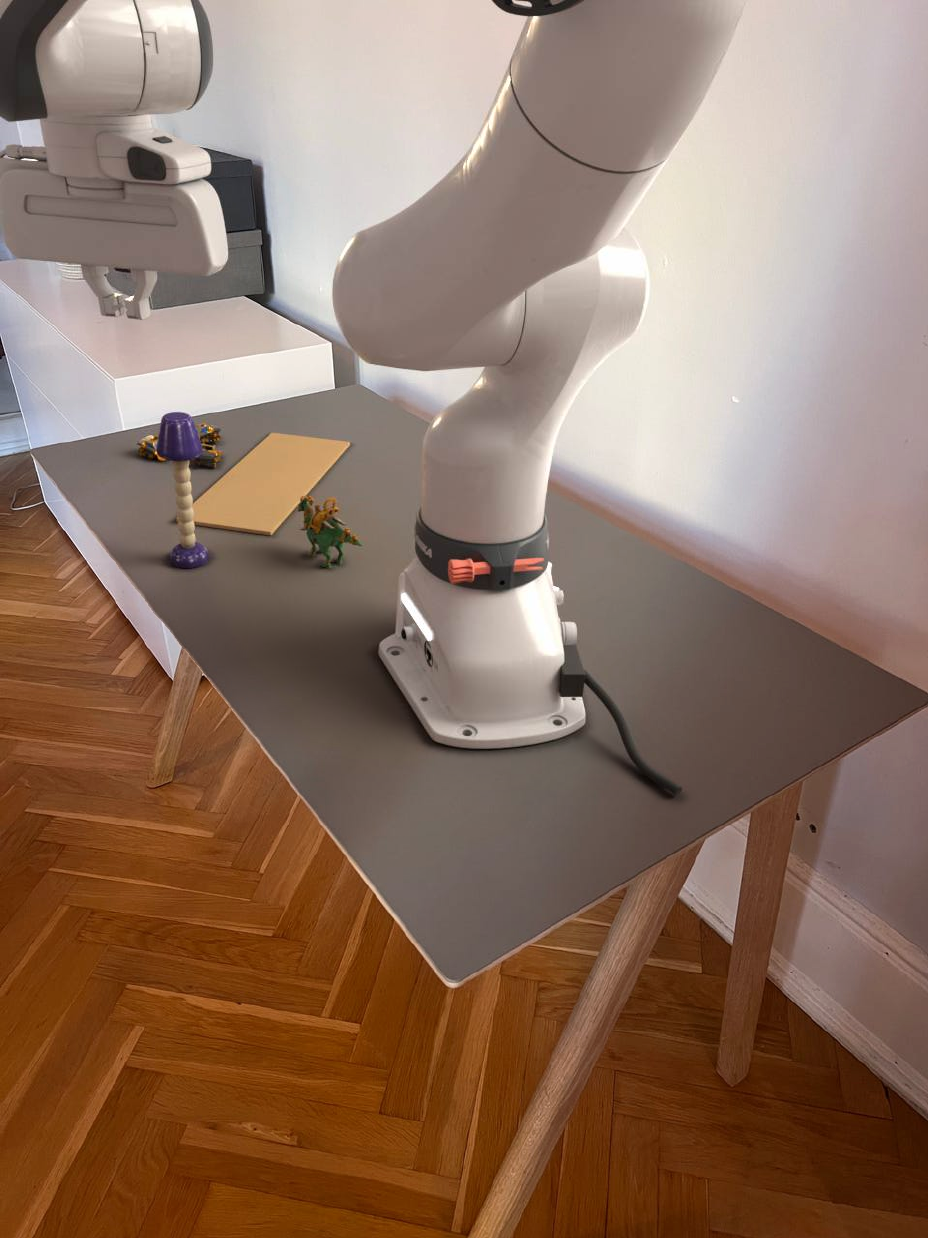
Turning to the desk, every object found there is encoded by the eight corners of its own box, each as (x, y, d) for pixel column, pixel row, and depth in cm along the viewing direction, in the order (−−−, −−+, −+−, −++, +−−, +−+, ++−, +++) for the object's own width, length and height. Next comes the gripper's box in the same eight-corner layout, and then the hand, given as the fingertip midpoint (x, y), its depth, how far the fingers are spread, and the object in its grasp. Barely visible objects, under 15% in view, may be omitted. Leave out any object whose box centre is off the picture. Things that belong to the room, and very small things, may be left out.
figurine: (312, 539, 107) (308, 475, 102) (374, 580, 100) (373, 512, 95) (289, 547, 105) (285, 481, 101) (351, 588, 98) (349, 520, 93)
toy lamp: (207, 546, 104) (190, 405, 95) (220, 564, 101) (204, 419, 92) (165, 555, 102) (144, 411, 93) (177, 573, 99) (157, 426, 90)
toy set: (256, 446, 130) (254, 414, 128) (206, 474, 121) (202, 439, 119) (188, 430, 134) (184, 399, 132) (135, 456, 125) (129, 423, 123)
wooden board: (271, 535, 107) (270, 531, 107) (176, 522, 109) (176, 518, 109) (350, 445, 132) (350, 441, 132) (272, 435, 134) (271, 432, 134)
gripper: (-33, 145, 76) (4, 314, 84) (194, 162, 73) (212, 335, 81) (13, 139, 82) (44, 298, 89) (227, 155, 79) (241, 318, 86)
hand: (126, 316), depth 85 cm, fingers closed
